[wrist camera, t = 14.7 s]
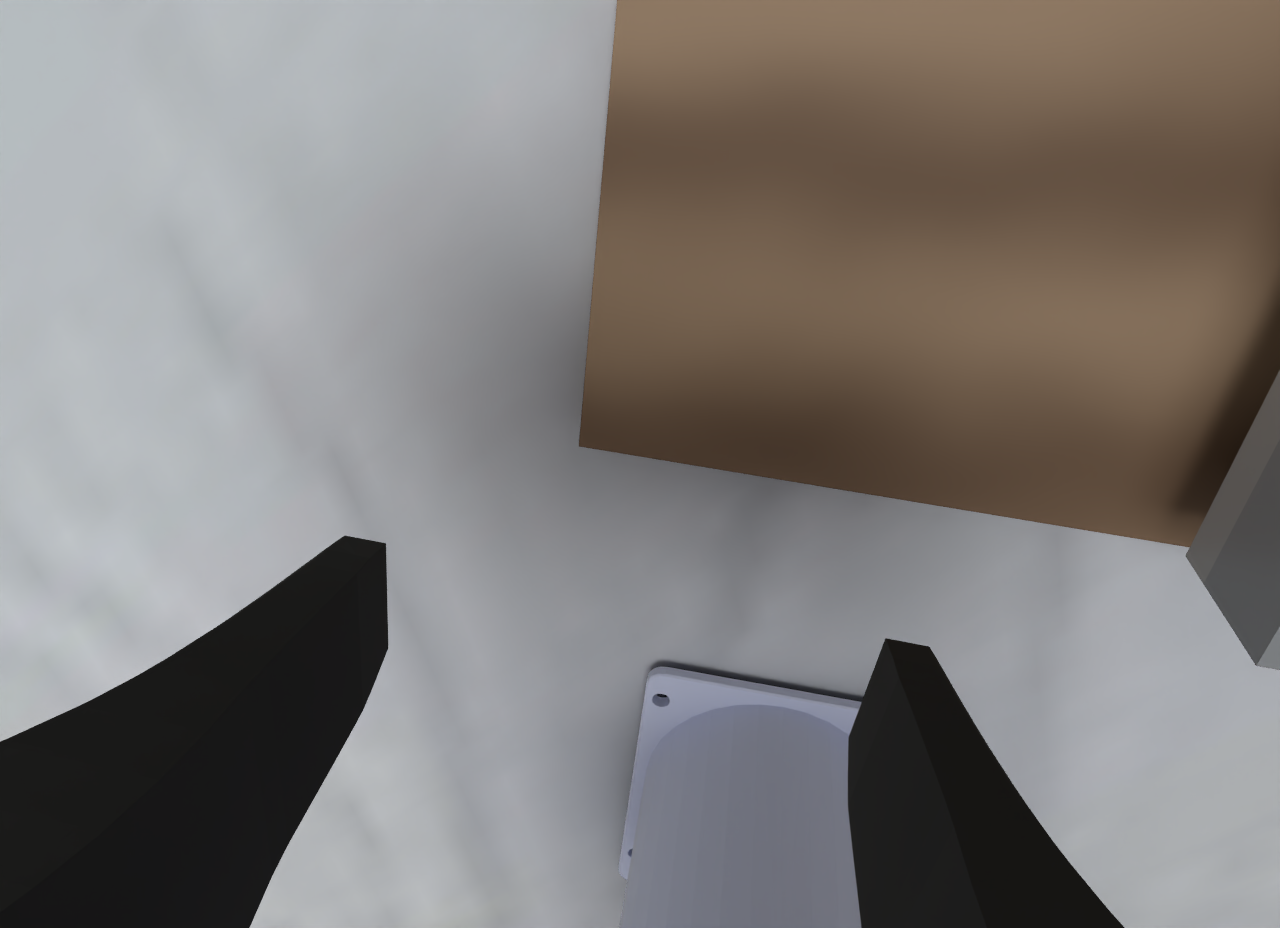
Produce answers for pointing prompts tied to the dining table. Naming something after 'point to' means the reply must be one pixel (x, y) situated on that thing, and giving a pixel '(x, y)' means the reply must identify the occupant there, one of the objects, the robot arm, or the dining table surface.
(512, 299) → the dining table surface
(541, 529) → the dining table surface
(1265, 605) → the tray
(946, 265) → the board
